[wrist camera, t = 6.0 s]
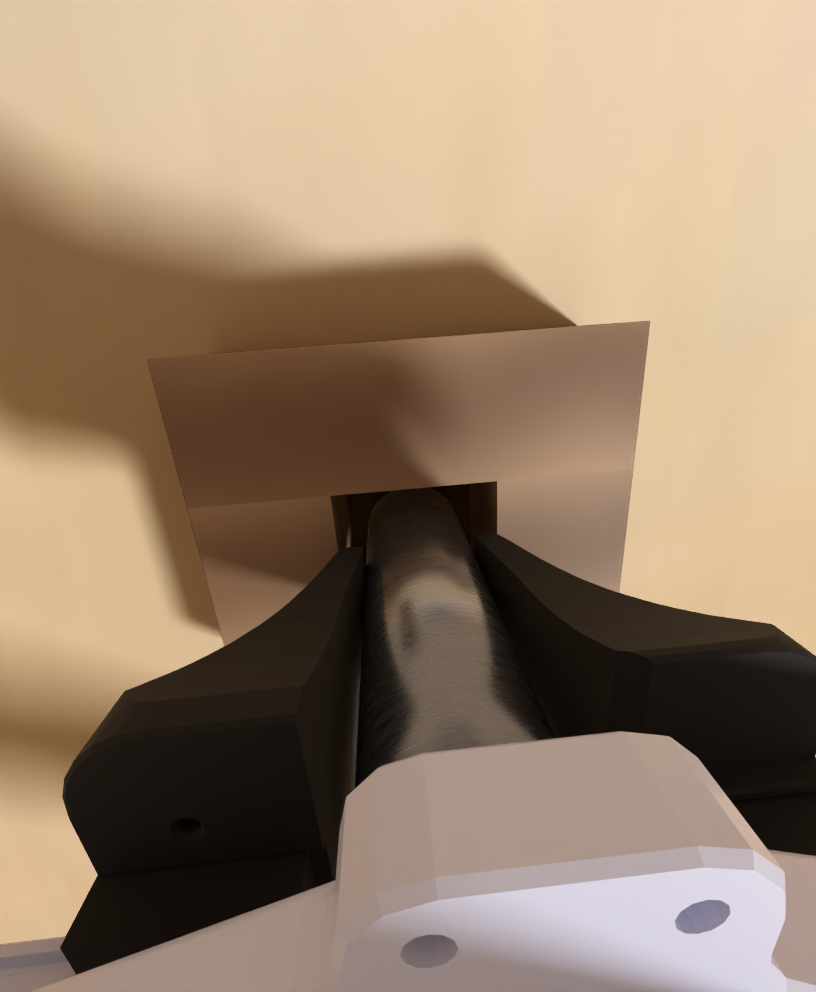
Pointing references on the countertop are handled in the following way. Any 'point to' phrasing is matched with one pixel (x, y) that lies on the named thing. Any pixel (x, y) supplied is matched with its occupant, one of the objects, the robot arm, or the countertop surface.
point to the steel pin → (434, 642)
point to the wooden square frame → (403, 448)
